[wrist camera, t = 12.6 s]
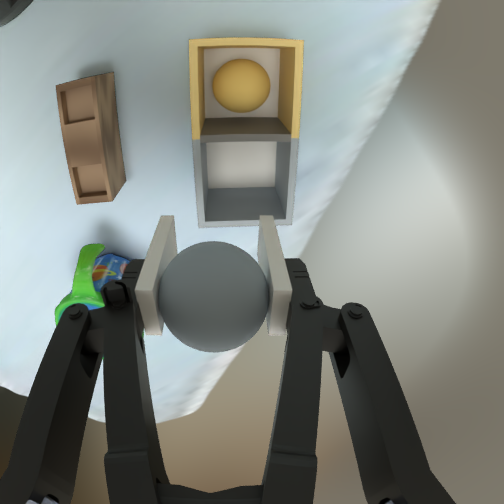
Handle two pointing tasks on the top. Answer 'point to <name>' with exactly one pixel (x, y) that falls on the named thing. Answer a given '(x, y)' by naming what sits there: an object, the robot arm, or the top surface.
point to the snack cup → (92, 278)
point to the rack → (91, 137)
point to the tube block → (245, 134)
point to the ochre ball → (241, 85)
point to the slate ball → (213, 296)
